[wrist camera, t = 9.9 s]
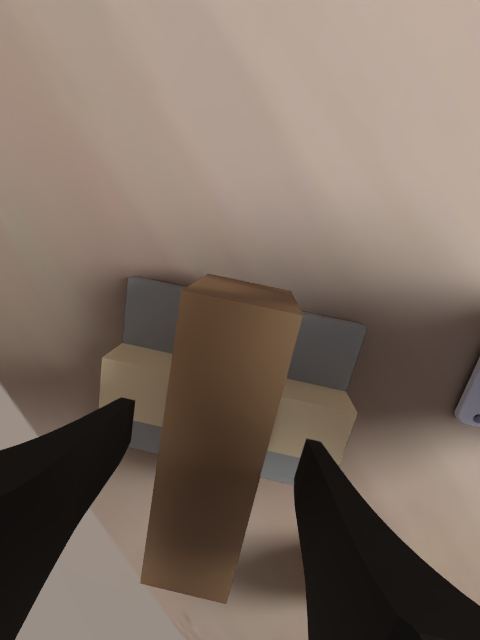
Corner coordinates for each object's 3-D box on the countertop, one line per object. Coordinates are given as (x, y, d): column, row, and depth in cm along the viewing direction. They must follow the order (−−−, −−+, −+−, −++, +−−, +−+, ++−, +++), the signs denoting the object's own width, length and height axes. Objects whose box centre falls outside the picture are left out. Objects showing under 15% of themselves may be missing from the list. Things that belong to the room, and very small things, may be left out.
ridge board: (362, 323, 15) (383, 342, 12) (311, 478, 18) (319, 521, 15) (134, 276, 15) (107, 283, 13) (119, 435, 18) (94, 469, 15)
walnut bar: (291, 291, 12) (302, 315, 8) (236, 512, 15) (226, 604, 12) (208, 273, 12) (181, 290, 8) (171, 497, 15) (140, 583, 12)
